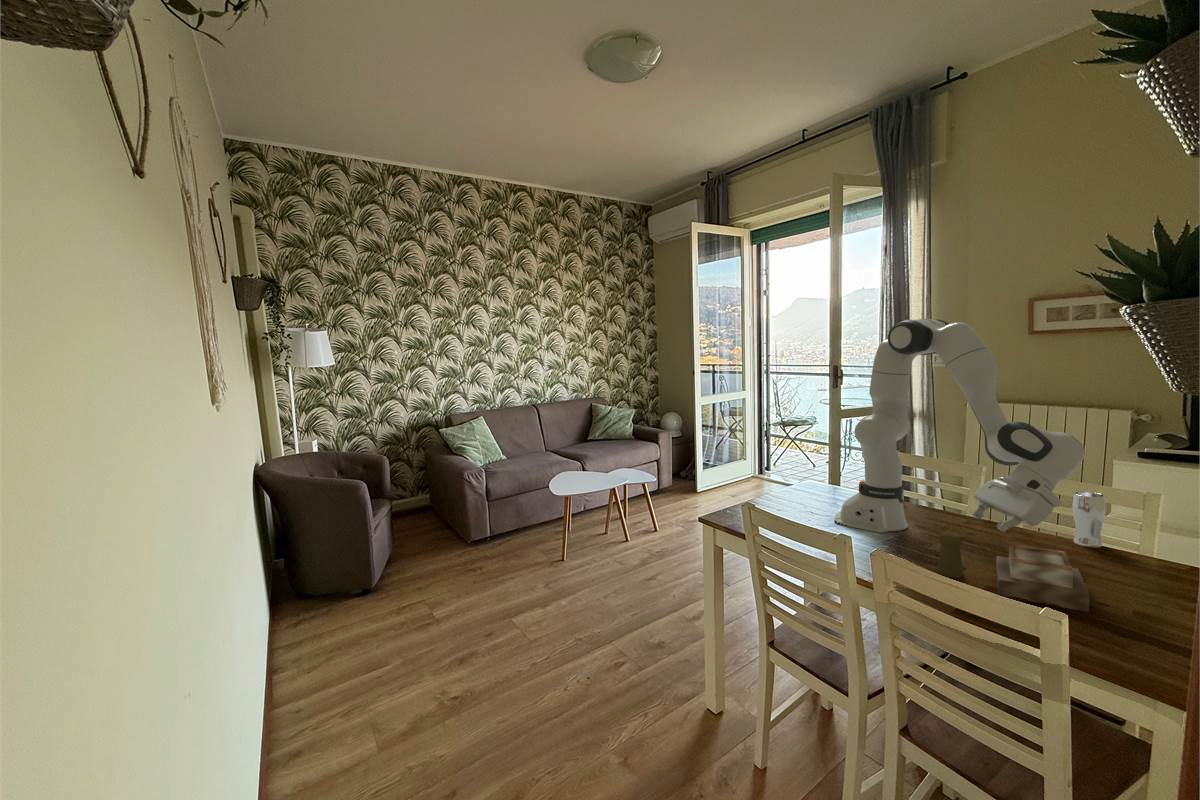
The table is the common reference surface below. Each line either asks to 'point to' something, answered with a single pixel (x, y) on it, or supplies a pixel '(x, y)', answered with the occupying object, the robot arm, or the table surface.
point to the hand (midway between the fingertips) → (986, 522)
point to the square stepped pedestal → (1041, 577)
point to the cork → (950, 555)
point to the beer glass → (1088, 518)
